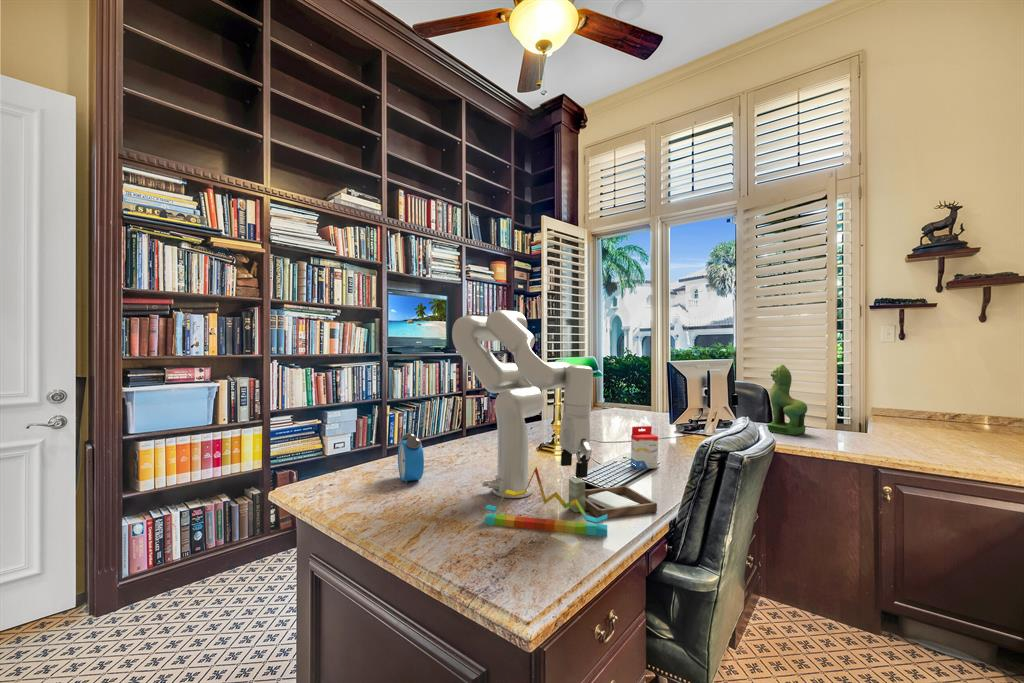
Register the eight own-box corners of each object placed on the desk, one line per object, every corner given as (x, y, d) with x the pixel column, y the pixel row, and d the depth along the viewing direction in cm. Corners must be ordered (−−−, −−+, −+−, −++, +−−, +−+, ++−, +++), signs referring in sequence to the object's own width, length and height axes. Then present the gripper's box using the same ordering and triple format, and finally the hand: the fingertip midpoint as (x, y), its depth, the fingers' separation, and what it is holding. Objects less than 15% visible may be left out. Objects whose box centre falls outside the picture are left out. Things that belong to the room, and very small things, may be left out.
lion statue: (775, 428, 241) (776, 363, 241) (810, 434, 228) (811, 365, 227) (763, 431, 233) (764, 364, 233) (798, 437, 220) (799, 365, 219)
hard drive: (587, 495, 130) (620, 509, 120) (607, 490, 135) (640, 502, 125) (587, 501, 130) (620, 515, 120) (607, 495, 135) (640, 508, 125)
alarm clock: (397, 475, 153) (397, 431, 153) (415, 473, 156) (415, 430, 156) (405, 487, 141) (405, 439, 141) (424, 484, 144) (425, 438, 144)
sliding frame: (584, 520, 116) (585, 490, 116) (560, 500, 131) (560, 472, 131) (656, 511, 123) (657, 482, 123) (625, 492, 137) (625, 466, 137)
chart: (607, 532, 111) (607, 471, 111) (607, 537, 108) (607, 475, 107) (488, 520, 117) (488, 462, 117) (484, 525, 114) (485, 466, 114)
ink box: (636, 469, 163) (637, 429, 163) (630, 465, 168) (630, 426, 168) (658, 468, 165) (658, 428, 165) (651, 464, 170) (651, 425, 170)
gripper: (552, 404, 131) (548, 462, 132) (578, 417, 114) (574, 483, 115) (575, 404, 133) (572, 460, 134) (604, 416, 117) (600, 481, 118)
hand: (573, 471), depth 125 cm, fingers open, 9 cm apart
